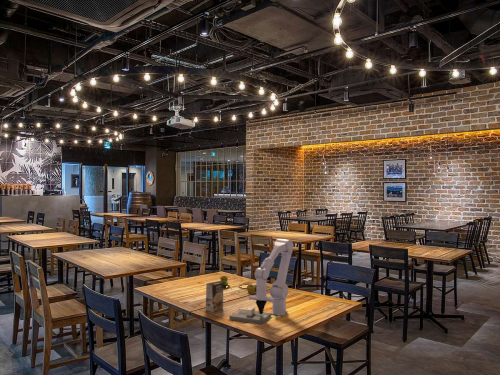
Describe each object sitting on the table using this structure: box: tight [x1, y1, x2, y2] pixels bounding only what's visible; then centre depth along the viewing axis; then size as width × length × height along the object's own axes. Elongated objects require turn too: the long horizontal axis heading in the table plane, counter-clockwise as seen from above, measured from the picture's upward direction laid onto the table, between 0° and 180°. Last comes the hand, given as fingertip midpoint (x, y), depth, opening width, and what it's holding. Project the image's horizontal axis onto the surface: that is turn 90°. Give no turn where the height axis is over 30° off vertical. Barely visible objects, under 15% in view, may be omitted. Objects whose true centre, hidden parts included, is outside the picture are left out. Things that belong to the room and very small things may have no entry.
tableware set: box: [216, 275, 257, 297], centre depth 291 cm, size 41×28×6 cm
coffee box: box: [205, 281, 224, 313], centre depth 238 cm, size 9×6×16 cm
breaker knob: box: [245, 306, 256, 316], centre depth 223 cm, size 3×6×3 cm, turn 158°
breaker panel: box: [229, 308, 272, 325], centre depth 223 cm, size 20×14×2 cm
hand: (261, 313), depth 220 cm, fingers closed
